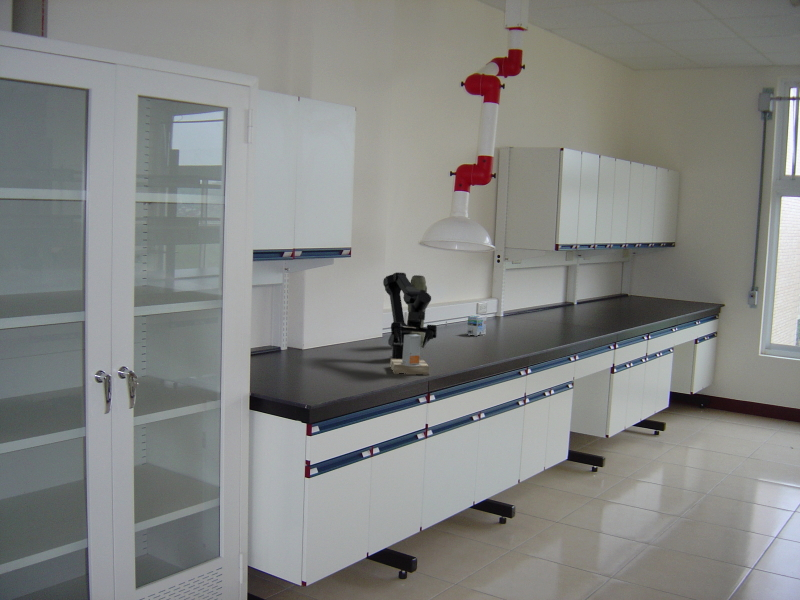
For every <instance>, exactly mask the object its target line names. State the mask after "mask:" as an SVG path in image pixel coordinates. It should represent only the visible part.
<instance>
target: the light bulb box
mask: <svg viewBox="0 0 800 600" xmlns="http://www.w3.org/2000/svg"><path fill="white" fill-rule="evenodd" d="M487 317H488V316H486V315H480V314H475V315H469V316H467V329H466V335H467V334H472V335H481V334H485V335H486V331H487V330H486V329H487V319H488V318H487Z"/></svg>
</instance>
